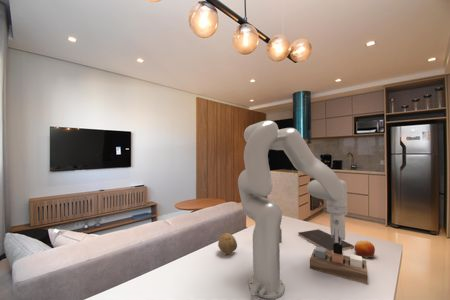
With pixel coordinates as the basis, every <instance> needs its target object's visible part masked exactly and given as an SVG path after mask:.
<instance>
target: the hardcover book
mask: <svg viewBox="0 0 450 300" xmlns="http://www.w3.org/2000/svg"><path fill="white" fill-rule="evenodd" d="M297 234H298V237H300V238H302V239H304V240H306V241H307V242H309V243H311V244H313V245H315V247H321V248H325V249H326V251H327V252H332V250H333V242H334V239H333V238H332V237H331V233H328V232H325V231H323V230H321V229H319V228H318V229H312V230H306V231H300V232H297ZM341 244H342V252H343V251H347V250H352V249H354V246H355V245H353V244H352V243H349V242H347V241H345V240H342V243H341Z"/></svg>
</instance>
